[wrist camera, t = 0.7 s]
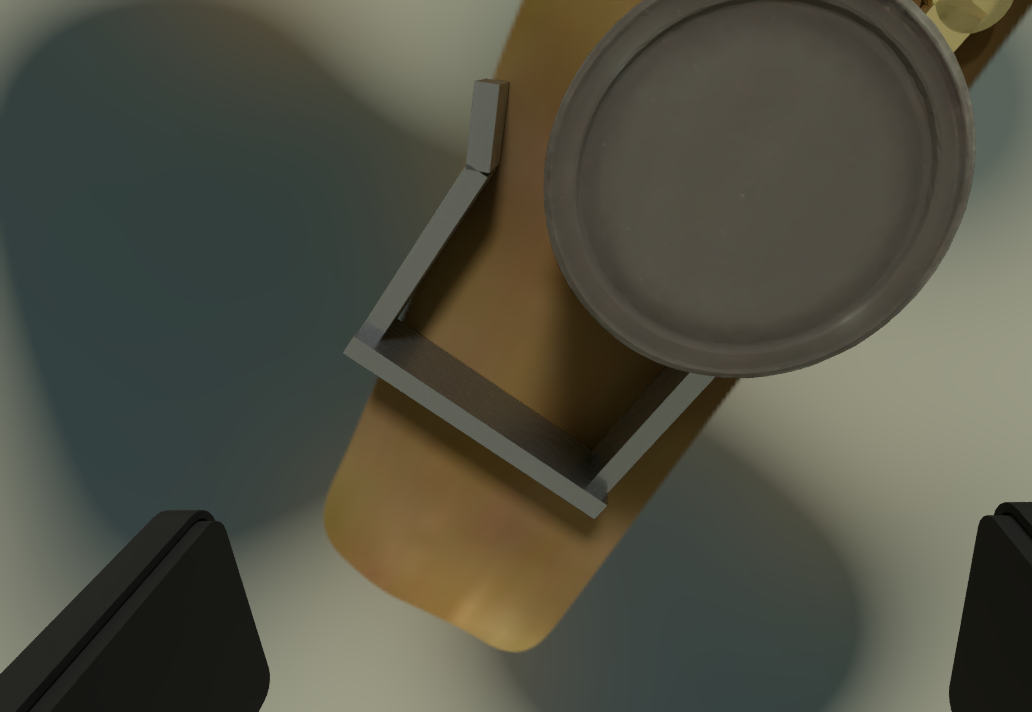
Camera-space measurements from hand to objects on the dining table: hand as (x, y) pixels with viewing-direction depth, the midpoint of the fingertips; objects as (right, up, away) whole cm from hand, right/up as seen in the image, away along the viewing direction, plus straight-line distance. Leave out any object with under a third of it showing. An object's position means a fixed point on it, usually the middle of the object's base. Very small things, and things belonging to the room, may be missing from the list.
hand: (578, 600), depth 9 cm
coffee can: (+7, +13, +22) cm, 26 cm away
